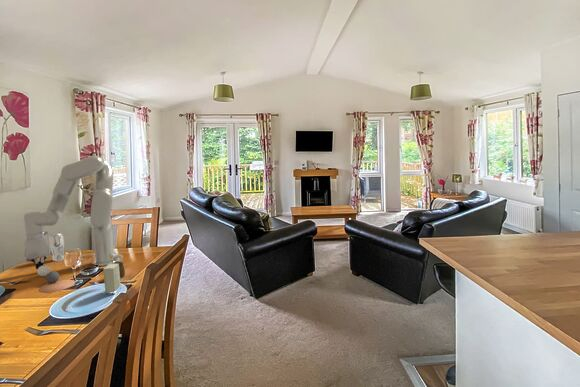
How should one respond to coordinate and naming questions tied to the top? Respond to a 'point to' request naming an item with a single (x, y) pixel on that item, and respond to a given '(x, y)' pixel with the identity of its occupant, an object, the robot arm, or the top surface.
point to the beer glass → (57, 246)
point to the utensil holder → (121, 267)
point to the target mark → (57, 286)
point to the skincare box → (111, 277)
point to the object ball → (52, 277)
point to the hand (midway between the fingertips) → (40, 269)
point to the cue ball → (43, 270)
